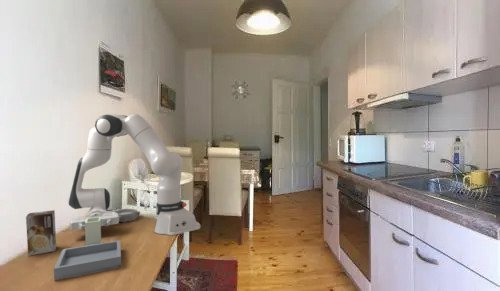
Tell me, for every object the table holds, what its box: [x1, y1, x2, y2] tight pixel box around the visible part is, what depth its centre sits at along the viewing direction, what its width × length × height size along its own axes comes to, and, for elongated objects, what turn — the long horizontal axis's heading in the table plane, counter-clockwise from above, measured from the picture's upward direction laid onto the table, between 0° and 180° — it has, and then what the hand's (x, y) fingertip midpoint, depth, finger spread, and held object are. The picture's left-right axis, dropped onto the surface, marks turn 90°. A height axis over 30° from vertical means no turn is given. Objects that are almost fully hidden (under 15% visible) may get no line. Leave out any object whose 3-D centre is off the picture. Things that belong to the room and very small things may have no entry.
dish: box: [115, 208, 141, 223], centre depth 161 cm, size 14×14×5 cm
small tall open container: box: [84, 217, 102, 246], centre depth 119 cm, size 5×7×12 cm
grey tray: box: [53, 239, 122, 281], centre depth 104 cm, size 20×18×4 cm
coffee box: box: [25, 209, 57, 256], centre depth 116 cm, size 9×6×16 cm
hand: (94, 226), depth 126 cm, fingers open, 8 cm apart
